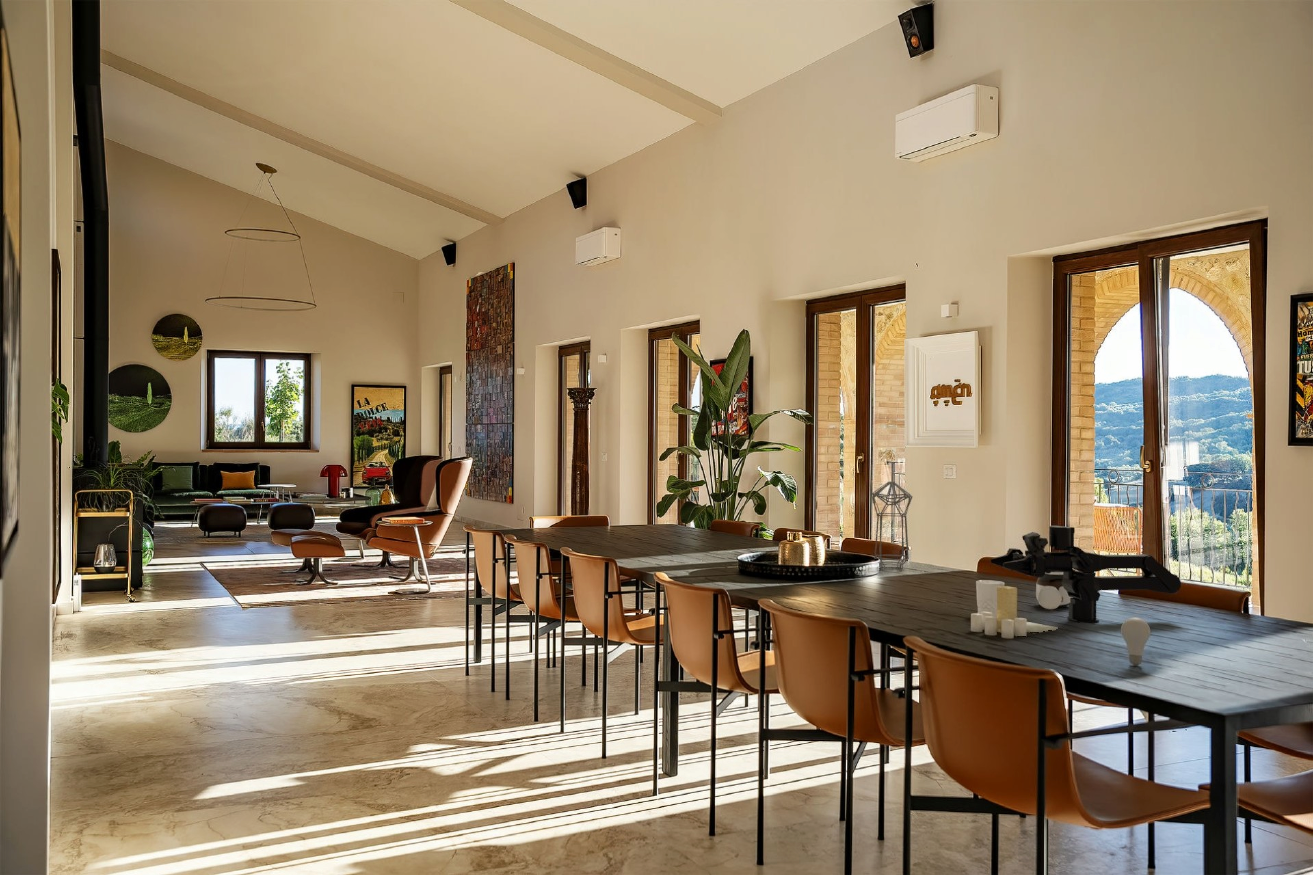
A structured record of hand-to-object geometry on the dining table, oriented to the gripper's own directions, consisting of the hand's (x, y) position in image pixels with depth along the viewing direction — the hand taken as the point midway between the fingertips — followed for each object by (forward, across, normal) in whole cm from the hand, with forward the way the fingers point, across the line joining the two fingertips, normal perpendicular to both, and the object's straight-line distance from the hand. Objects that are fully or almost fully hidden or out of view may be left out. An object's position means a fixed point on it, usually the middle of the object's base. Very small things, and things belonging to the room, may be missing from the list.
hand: (996, 562), depth 286 cm
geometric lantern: (-4, -114, +17) cm, 115 cm away
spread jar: (-27, -23, +17) cm, 40 cm away
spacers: (+7, +18, +17) cm, 25 cm away
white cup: (-1, -8, +17) cm, 19 cm away
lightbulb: (-9, +57, +17) cm, 60 cm away
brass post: (+4, +16, +17) cm, 23 cm away
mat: (-5, +11, +17) cm, 21 cm away
